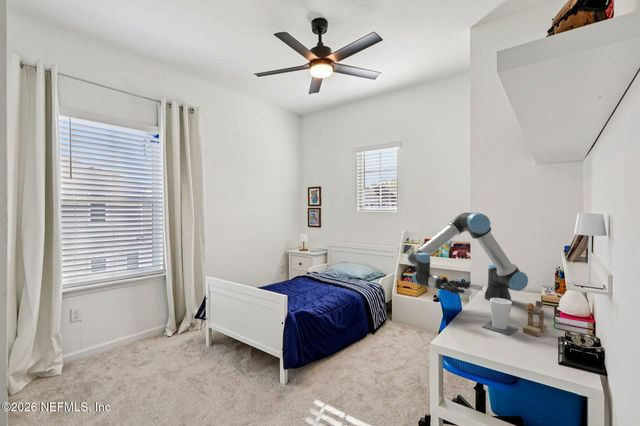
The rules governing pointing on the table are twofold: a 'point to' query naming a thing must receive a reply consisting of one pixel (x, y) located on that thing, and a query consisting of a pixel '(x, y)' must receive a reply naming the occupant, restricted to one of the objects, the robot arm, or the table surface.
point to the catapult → (535, 327)
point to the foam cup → (500, 312)
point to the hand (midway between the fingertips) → (476, 290)
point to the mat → (503, 331)
